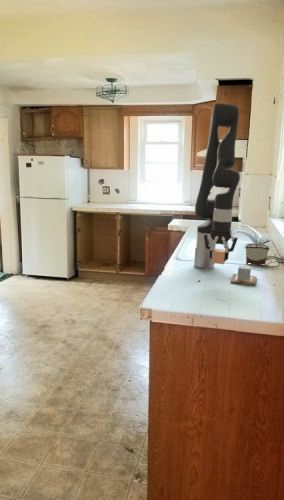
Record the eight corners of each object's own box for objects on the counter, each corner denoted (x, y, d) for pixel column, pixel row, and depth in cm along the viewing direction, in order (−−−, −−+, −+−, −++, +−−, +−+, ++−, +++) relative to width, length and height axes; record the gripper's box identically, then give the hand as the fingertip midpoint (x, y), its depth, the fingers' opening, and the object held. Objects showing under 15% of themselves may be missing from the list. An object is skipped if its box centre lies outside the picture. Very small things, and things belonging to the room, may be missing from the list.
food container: (265, 262, 197) (267, 243, 195) (268, 265, 191) (270, 246, 189) (241, 261, 198) (243, 242, 196) (243, 264, 192) (245, 245, 190)
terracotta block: (211, 262, 155) (212, 251, 154) (213, 259, 160) (214, 248, 159) (223, 264, 154) (224, 252, 153) (225, 261, 158) (226, 249, 157)
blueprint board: (230, 283, 159) (230, 280, 159) (233, 275, 170) (233, 273, 170) (255, 286, 156) (255, 283, 155) (256, 278, 167) (256, 276, 167)
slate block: (237, 279, 161) (238, 268, 160) (238, 276, 166) (239, 265, 165) (249, 280, 160) (250, 269, 158) (250, 277, 164) (251, 266, 163)
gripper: (203, 219, 151) (199, 259, 155) (239, 222, 147) (235, 264, 151) (206, 216, 158) (203, 255, 162) (241, 219, 154) (237, 259, 158)
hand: (218, 259), depth 157 cm, fingers closed on terracotta block, 5 cm apart
